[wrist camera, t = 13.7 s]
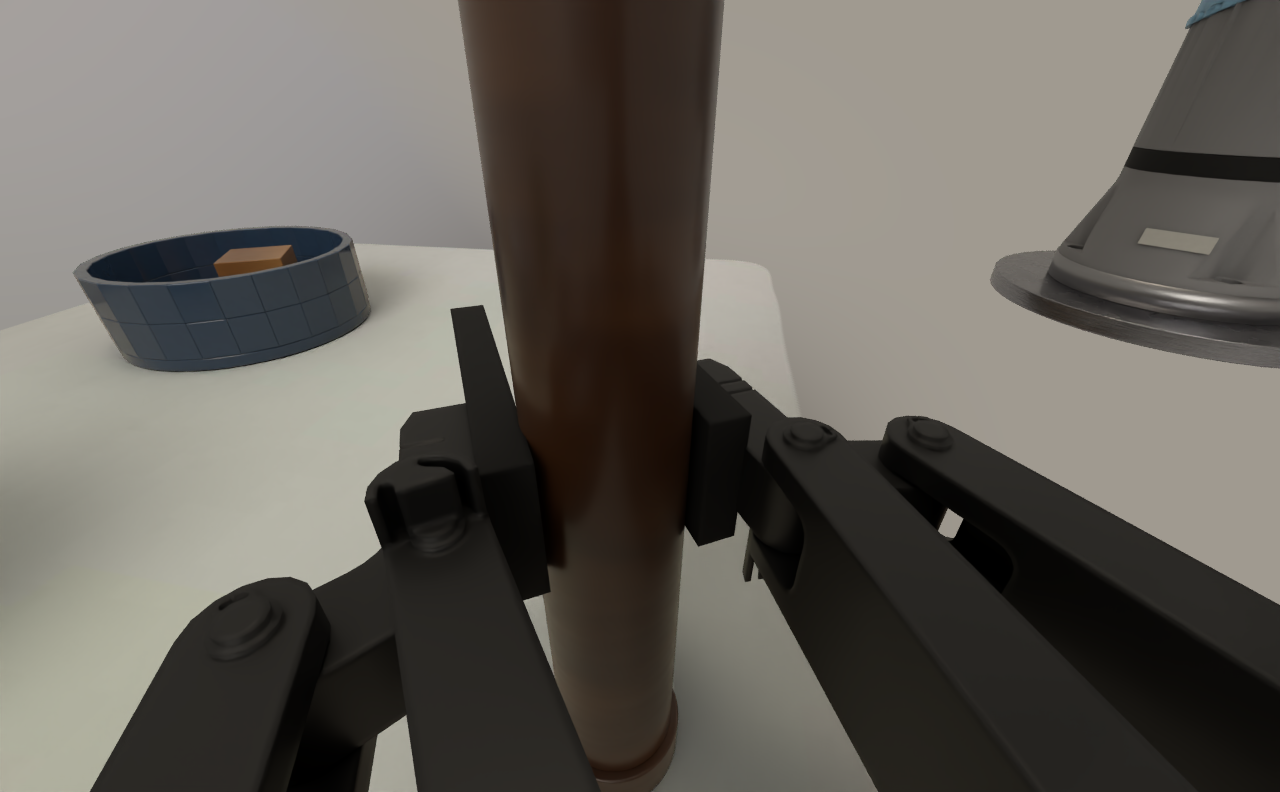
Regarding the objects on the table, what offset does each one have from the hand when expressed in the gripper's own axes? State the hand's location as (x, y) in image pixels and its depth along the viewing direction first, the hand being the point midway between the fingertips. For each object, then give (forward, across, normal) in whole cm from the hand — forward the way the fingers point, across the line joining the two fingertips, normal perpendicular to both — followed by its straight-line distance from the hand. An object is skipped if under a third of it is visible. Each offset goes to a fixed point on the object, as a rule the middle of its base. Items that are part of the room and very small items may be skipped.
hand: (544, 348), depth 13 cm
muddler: (-5, 0, -9) cm, 11 cm away
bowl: (+31, -16, -9) cm, 36 cm away
